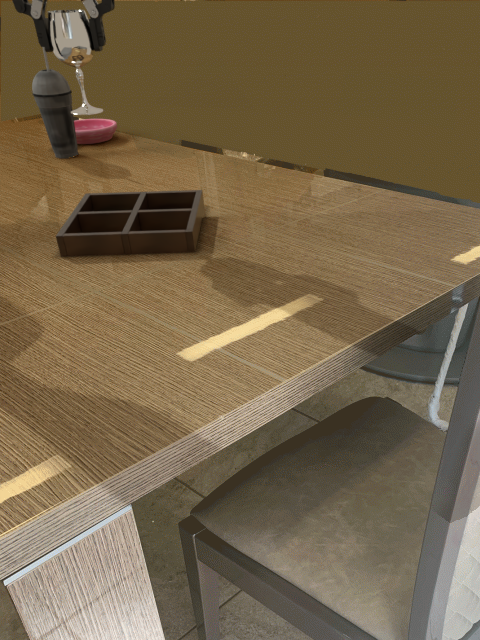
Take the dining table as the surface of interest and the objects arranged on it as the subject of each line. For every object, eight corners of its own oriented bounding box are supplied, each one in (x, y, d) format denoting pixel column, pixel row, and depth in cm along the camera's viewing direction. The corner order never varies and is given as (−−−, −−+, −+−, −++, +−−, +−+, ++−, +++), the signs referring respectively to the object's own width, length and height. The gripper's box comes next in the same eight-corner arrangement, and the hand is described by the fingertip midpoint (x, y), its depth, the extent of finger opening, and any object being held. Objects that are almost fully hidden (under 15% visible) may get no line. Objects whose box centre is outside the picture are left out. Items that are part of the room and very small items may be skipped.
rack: (63, 265, 87) (55, 236, 84) (91, 219, 101) (85, 193, 98) (196, 260, 88) (192, 231, 85) (205, 216, 102) (202, 189, 99)
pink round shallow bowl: (54, 137, 143) (50, 122, 141) (108, 130, 148) (106, 115, 147) (70, 149, 135) (66, 133, 133) (127, 141, 140) (124, 125, 138)
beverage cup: (75, 148, 135) (50, 38, 123) (91, 155, 131) (67, 42, 119) (42, 155, 131) (13, 42, 119) (57, 162, 127) (29, 46, 115)
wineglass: (78, 106, 94) (57, 9, 86) (115, 108, 93) (97, 9, 85) (58, 115, 89) (34, 13, 82) (96, 116, 88) (75, 13, 81)
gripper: (-33, -114, 73) (11, 56, 83) (96, -114, 74) (124, 54, 84) (-11, -110, 79) (28, 48, 89) (108, -110, 80) (133, 46, 90)
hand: (74, 50), depth 86 cm, fingers closed on wineglass, 6 cm apart
